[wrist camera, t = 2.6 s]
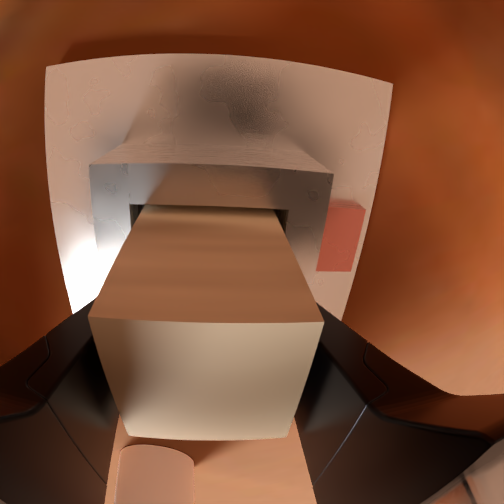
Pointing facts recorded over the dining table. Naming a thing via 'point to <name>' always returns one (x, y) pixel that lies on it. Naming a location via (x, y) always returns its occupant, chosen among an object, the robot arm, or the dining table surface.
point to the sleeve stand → (213, 155)
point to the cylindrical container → (154, 476)
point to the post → (206, 325)
